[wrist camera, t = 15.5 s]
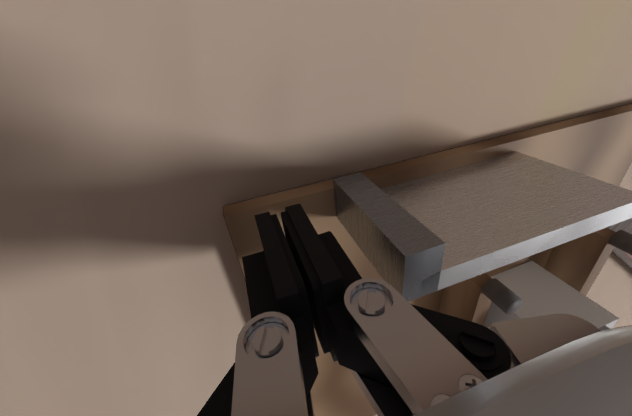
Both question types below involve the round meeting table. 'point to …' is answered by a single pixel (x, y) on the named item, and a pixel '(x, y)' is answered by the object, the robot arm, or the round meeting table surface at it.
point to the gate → (472, 218)
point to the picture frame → (628, 226)
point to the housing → (475, 293)
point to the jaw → (546, 298)
